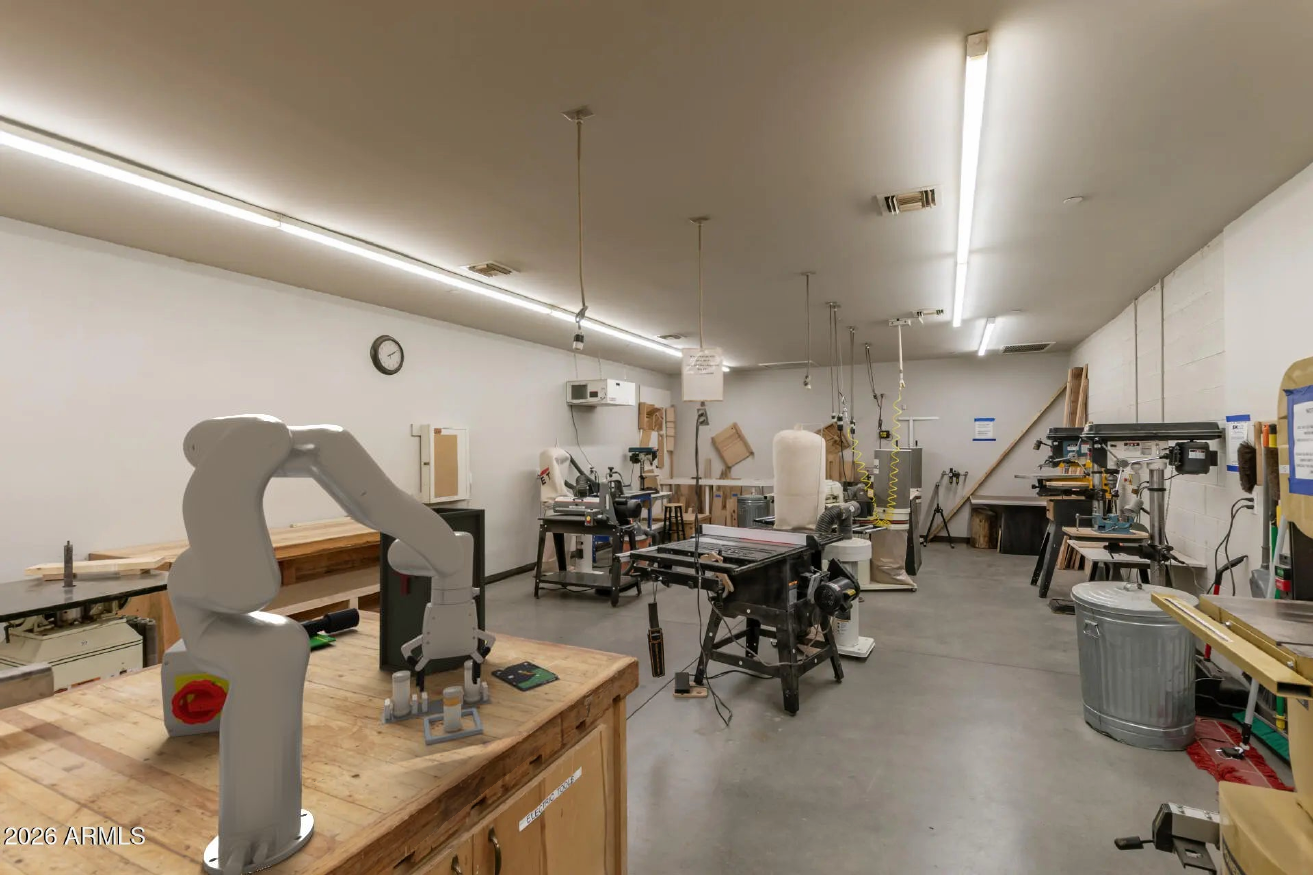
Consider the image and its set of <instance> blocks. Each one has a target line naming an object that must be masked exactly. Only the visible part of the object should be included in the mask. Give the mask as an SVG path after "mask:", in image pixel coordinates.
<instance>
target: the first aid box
mask: <svg viewBox="0 0 1313 875" xmlns="http://www.w3.org/2000/svg"><path fill="white" fill-rule="evenodd" d="M429 508H430V509H431V510H433V511H434V512H435V513H437V514H438V515H439V516H440V517H441V518H442V519H443V520H444V521H445V522H446V523H447V524H448V525H449V527H450V528H451V529H452V530H453V532H467V533H470V534H471V535H472V536H473V543H474V544H473V573H472V586H473V587H474V588H479V589H480V594H479V595H475V596H474V597H472V600H475V605H476V613H477V625H478V629H479V630H481V631H484V632H486V509H483V508H468V507H467V508H463V507H447V506H446V507H445V506H444V507H443V506H439V507H437V506H436V507H429ZM395 540H397V539H396V538H394V537H392V536H390V535H388V534H385V533H382V532H379V637H378V638H379V645H378V647H379V648H378V649H379V650H378V651H379V652H378V653H379V654H378V656H379V657H378V658H379V661H378V662H379V663H378V664H379V667H378V668H379V670H382V671H387V672H389V673H393V674H394V673H396V672H399V671H410V679H411V678H414V677H415V678H416V670H415V668H414V667H412V666H411V665H410V664H409V663H408V662H407V660H406V658H405V657H404V655H403V653H402V651H401V647H402V646H403V645H405V644H406V643H408V642H410V641H412V640H413V639H415V638H417V637H419V636H420V635H422V629H423V620H424V614H425V609H426V605H427V604H428V603H431V588H432V577H426V576H415V575H407V574H403V573H400V572H398V571H396V570H394V569H393V568H392V567H391V565H390V564H389V561H388V551H389V548H390V546H391V545H392V543H393V542H394V541H395ZM485 645H486V640H483V639H481V638H478V646H477V650H478V652H480V651H481V649H482V648H483V647H484V646H485ZM411 653H412V655H413V656H415V657H416V658H417V659H418V658H419V657H420V656H421V655H422V650H421V644H420V645H418V646H417V647H415V648H413V649H412V650H411ZM473 659H474V658H473V657H472V656H471V655H470V654H469V655H463V656H455V657H447V658H438V659H429V661H428V662H427V663H426V664H425V665H424V669H425V676H426V677H427V676H430V675H432V674H433V675H435V674H441V673H446V672H452V671H453V672H454V671H457V670H459V669H461V668H464V663H465V662H466V661H468V660H473Z"/></svg>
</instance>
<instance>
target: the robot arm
mask: <svg viewBox="0 0 1313 875" xmlns="http://www.w3.org/2000/svg"><path fill="white" fill-rule="evenodd" d="M182 449H183V450H182V451H183V455H184V457H185V459H186V461H187V462H188V463H189V464H190V466H192V467H193V468H194V470H193V472H192V474H191V476H190V478H189V479H188V482H187V483H186V487H185V489H184V493H183V496H182V506H181V507H182V519H183V523H184V528H185V532H186V536H187V540H188V545H189V547H188V548H186V549H184V550H183V551H182V552H181V553H180V554H179V555H178V556H177V557H176V558H175V559H174V561H173V562H172V563H171V566H170V569H169V571H168V574H167V582H166V585H167V586H166V591H167V596H168V598H169V602H170V605H171V606H170V607H171V608H172V611H173V614H174V618H175V621H176V624H177V627H178V630H179V633H180V636H181V638H182V639H183V642H184V645H185V648H186V650H187V653H188V655H189V657H190V659H191V660H192V662H193V663H194V665H195V666H196V667H197V668H198V669H200V670H201V671H203V672H205V673H207V674H210V675H213V676H215V677H219V678H222V679H224V680H227V681H229V691H228V695H227V698H226V701H225V703H224V706H223V710H222V714H221V720H220V731H219V738H218V739H219V741H218V742H219V753H218V755H219V756H218V757H219V759H218V760H219V761H218V766H219V767H218V820H217V821H218V822H217V823H218V824H217V825H218V827H217V829H218V830H217V836H216V837H215V838H214V839H213V840H212V841H210V843H209V844H208V845H207V847H206V849H205V850H204V852H203V856H202V868H203V869H204V871H205V872H206V873H208V874H209V875H241V874H246V875H248V874H247V873H249V872H253V873H255V872H254V871H257V870H260V869H262V868H265V867H268V866H270V867H272V866H274V865H277V864H278V863H280V862H282V861H283V860H286V859H287V858H289V857H291V855H293V854H294V853H296V852H298V851H299V850H300V849H301V848H302V847H303V846H304V845H305V844H306V843H307V842H308V841H309V840H310V838H311V836H312V835H313V833H314V829H315V818H314V816H313V814H312V813H310V812H309V811H308V810H305V809H303V808H302V805H303V802H302V801H303V795H302V794H303V721H304V720H303V715H304V714H303V713H304V712H303V710H304V708H303V707H304V706H303V704H304V691H305V690H304V689H305V682H306V675H307V671H308V667H309V663H310V657H311V649H312V648H311V644H310V639H309V636H308V633H307V632H306V630H305V629H304V627H303V626H302V625H301V624H299V623H298V621H296V620H294V619H292V618H291V617H288V616H285V615H281V614H276V613H272V612H267V611H261V610H262V609H264V608H266V607H267V606H269V605H271V603H272V602H273V601H274V600H275V599H276V597H277V596H278V595H279V592H280V589H281V585H282V574H281V570H280V565H279V563H278V559H277V556H276V552H275V550H274V549H275V548H274V545H273V542H272V539H271V536H270V531H269V529H268V525H267V521H266V518H265V517H266V516H265V511H264V510H265V509H264V496H265V491H266V489H267V487H268V485H269V483H270V481H271V479H272V478H276V479H277V478H278V479H279V478H280V479H281V478H284V479H285V478H287V479H288V478H295V479H296V478H298V479H299V478H301V479H303V478H304V479H307V478H308V479H313V480H314V481H315V482H316V484H318V486H319V487H320V488H322V489H323V490H324V491H325V492H326V494H328V496H330V498H331V499H333V501H334V502H335V503H336V504H337V505H338V506H339V507H340V508H341V509H342V510H343V511H344V512H345V514H346V515H347V516H348V517H350V519H351V520H353V521H355V522H356V523H358V524H360V525H362V526H365V527H366V528H369V529H371V530H373V531H377V532H379V533H380V532H382V533H385V534H388V535H390V536H392V537H394V538H396V539H397V540H395V541H394V542H393V543H392V545H391V546H390V548H389V551H388V561H389V564H390V565H391V567H392V568H393V569H394V570H396V571H398V572H400V573H403V574H407V575H415V576H426V577H432V588H431V603H428V604H427V605H426V609H425V614H424V620H423V629H422V635H420V636H419V637H417V638H415V639H413V640H412V641H410V642H408V643H406V644H405V645H403V646H402V647H401V651H402V653H403V655H404V657H405V658H406V660H407V662H408V663H409V664H410V665H411V666H412V667H414V668H415V670H416V677H415V687H416V688H418V687H419V689H418V690H419V693H424V691H425V678H426V677H425V669H424V665H425V664H426V663H427V662H428V661H429V659H438V658H447V657H455V656H463V655H469V654H470V655H471V656H472V657H473V658H474V659H473V661H472V682H473V684H474V685H476V684H477V678H480V679H481V676H482V663H483V661H484V660H485V659H486V657H487V656H488V655H489V654H490V653H491V651H492V648H493V647H494V645H495V643H496V641H497V638H496V636H495V635H493V634H491V633H488V632H486V631H485V632H484V631H481V630H479V629H478V625H477V613H476V605H475V600H472V597H474V596H475V595H479V594H480V589H479V588H474V587H473V586H472V573H473V544H474V543H473V536H472V535H471V534H470V533H467V532H453V530H452V529H451V528H450V527H449V525H448V524H447V523H446V522H445V521H444V520H443V519H442V518H441V517H440V516H439V515H438V514H437V513H435V512H434V511H433V510H431V509H430V508H431V507H429V506H427V505H425V504H424V503H422V502H421V501H419V500H418V499H417V498H415V497H414V496H412V495H410V493H408V492H406V491H404V490H402V489H400V487H398V486H397V485H396V484H395V483H394V482H393V481H392V479H391V478H390V477H389V476H388V475H387V474H386V472H384V470H383V469H382V468H381V467H380V465H378V463H377V462H376V461H375V460H374V458H373V457H372V456H371V455H370V454H369V453H368V451H367V450H366V449H365V448H364V447H363V445H362V444H361V443H360V441H358V440H357V438H356V437H355V436H354V435H353V434H352V433H351V432H350V431H349V430H347V429H345V428H344V427H341V426H338V425H333V424H319V425H318V424H317V425H304V426H294V425H293V426H291V425H290V426H289V425H288V426H287V425H286V423H284V422H283V420H280V419H278V418H276V417H275V416H271V415H266V414H255V413H254V414H253V413H252V414H239V415H233V416H221V417H220V416H219V417H213V418H208V419H206V420H203V421H200V422H198V423H196V424H195V425H193V426H191V428H190V429H189V431H188V432H187V433H186V435H185V437H184V438H183V442H182ZM478 638H481V639H483V640H485V646H484V647H483V648H482V649H481V651H480V652H478V650H477V646H478ZM420 644H421V650H422V655H421V656H420V657H419V658H418V659H417V658H416V657H415V656H413V655H412V653H411V650H412V649H413V648H415V647H417V646H418V645H420ZM277 862H278V863H277ZM273 864H274V865H273ZM271 865H272V866H271ZM268 868H269V867H268ZM265 869H266V868H265ZM262 870H263V869H262ZM260 871H261V870H260ZM257 872H258V871H257Z"/></svg>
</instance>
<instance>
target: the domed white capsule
mask: <svg viewBox="0 0 1313 875" xmlns="http://www.w3.org/2000/svg"><path fill="white" fill-rule="evenodd" d="M391 677H392V678H391V680H392V708H393V709H392V716H393V717H402V716H406V715H408V714H409V713H410V705H411V698H410V697H411V695H410V692H411V690H410V688H411V686H410V685H411V678H410V671H399V672H396V673H393V674H391Z"/></svg>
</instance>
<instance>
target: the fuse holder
mask: <svg viewBox="0 0 1313 875" xmlns="http://www.w3.org/2000/svg"><path fill="white" fill-rule="evenodd" d="M459 687H461V688H462V694H461V710H465V709H471V708H476V707H479V706H484V705H490V704H492V700H491V697H490V695H489V686H488V684H487V682H486V681H482V682H481V691H480V694H481V699H480V701H478V702H475V703H465V702H464V695H465V694H464V691H463V687H462V685H459ZM411 696H412V697H411V698H412V699H411V701H412V702H411V704H410V713H409V714H408V715H406V716H402V717H393V716H392V709H393V707H391V698H386V699H385V700H384V709H382V711H381V712H382V716H381V725H386V724H391V723H398V722H402V721H408V720H412V719H417V718H423V717H429V716H435V715H440V714H444V705H443V698H440V699H434V700H430V701H428V692H421V702H418V694H417V693H413V694H411Z"/></svg>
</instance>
